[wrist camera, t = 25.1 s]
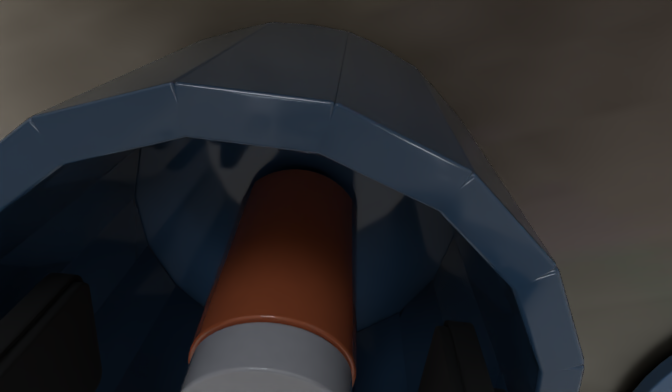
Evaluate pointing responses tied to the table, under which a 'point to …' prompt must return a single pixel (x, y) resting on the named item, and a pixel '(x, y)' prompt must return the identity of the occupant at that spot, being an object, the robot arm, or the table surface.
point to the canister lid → (658, 378)
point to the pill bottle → (282, 293)
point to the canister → (256, 162)
